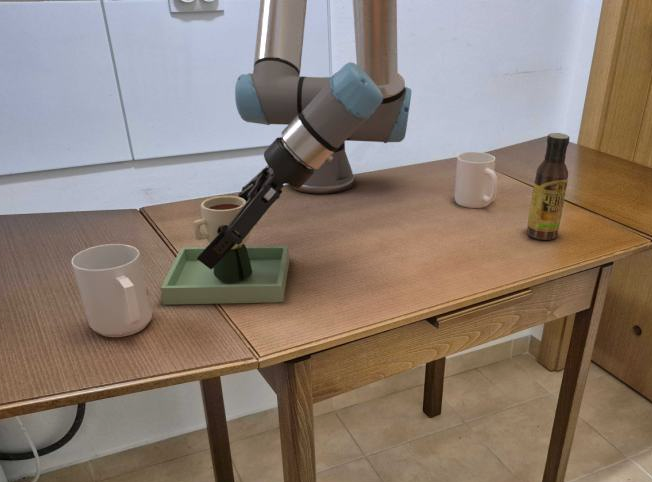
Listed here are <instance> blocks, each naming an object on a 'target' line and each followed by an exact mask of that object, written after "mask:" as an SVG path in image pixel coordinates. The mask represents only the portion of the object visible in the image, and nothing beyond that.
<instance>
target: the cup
mask: <svg viewBox="0 0 652 482" xmlns="http://www.w3.org/2000/svg"><path fill="white" fill-rule="evenodd" d="M495 167H496V156H494V155H492V154H491V153H486V152H481V151H467V152H462V153H459V154H458V155H457V156H456V167H455V168H456V169H455V185H454V202H455V203H456V204H457V205H458V206H460V207H463V208H468V209H481V208H486V207H488V206H489V205H490V204H491V203H492V202H494V201H495V199H496V197H497V194H498V193H497V191H498V177H497V174H496V172H495Z"/></svg>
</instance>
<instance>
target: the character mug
mask: <svg viewBox="0 0 652 482" xmlns="http://www.w3.org/2000/svg"><path fill="white" fill-rule="evenodd" d="M245 203H246V201H245V200H244V199H243V198H240V197H238V196H236V195H219V196H218V195H217V196H213V197H209V198H206V199H205V200H202V202H201V203H200V211H201V218H198V219H196V220H194V221H193V224H192V226H193V232H194V237H195V239H196V240H197V241H201V240H206V241H207V242H208V244H210V243H211V242H212V241H213V240H214V239H215V238H216V237H217V235H218V234H219V233H220V232H221V230H220V228H221V227H222V226H225V227H226V228H227V227H228V226H229V224H230V223H231V222H232V220H233V219H234V218H235V216H236V215H237V214H238V213H239V211H240V210H241V209H242V207H243V206H244V205H245ZM202 225H203V230H204V232H202V233H201V226H202ZM257 225H258V222H257V223H256V225H255V226H254V227H256V226H257ZM234 231H235V230H234ZM235 232H236V231H235ZM238 234H239V233H238ZM250 236H251V231H250V232H249V233H248V235H247V236H246V237H245V238H244V239H243V241H242V243H241V244H239V245H237V244H235V245H234V246H233V248H232V249H231V250H230V251H229V252H228V253H227V254H226V255H225V256H224V257H223V258H222V259H221V260H220V261H219V262H218V263H217V264H216V265H215V266H214V267H213V271H214V275H215V277H216V278H218V279H219V280H221V281H225V282H237V281H240V280H239V276H240V275H242V274H243V275H244V279H247V278H248V277H250V276H251V274H252V268H251V263H250V259H249V255H248V252H247V248H246V247H247V246H246V245H245V243H247V241H248V240H249V239H250Z"/></svg>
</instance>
